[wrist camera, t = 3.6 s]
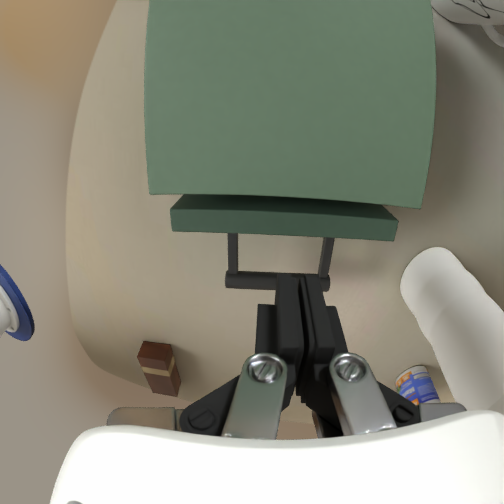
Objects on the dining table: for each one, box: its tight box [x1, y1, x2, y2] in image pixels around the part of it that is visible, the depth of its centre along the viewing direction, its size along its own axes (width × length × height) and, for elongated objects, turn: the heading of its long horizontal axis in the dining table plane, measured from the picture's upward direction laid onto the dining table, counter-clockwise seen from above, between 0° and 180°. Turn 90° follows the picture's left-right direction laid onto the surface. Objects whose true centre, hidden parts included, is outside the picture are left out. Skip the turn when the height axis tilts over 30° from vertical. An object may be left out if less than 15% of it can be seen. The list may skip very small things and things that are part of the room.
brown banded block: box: [137, 341, 181, 397], centre depth 31 cm, size 4×8×3 cm, turn 179°
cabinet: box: [144, 0, 436, 209], centre depth 12 cm, size 15×13×10 cm
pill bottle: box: [395, 366, 441, 405], centre depth 28 cm, size 5×5×10 cm
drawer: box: [170, 194, 398, 292], centre depth 15 cm, size 19×11×8 cm, turn 179°
